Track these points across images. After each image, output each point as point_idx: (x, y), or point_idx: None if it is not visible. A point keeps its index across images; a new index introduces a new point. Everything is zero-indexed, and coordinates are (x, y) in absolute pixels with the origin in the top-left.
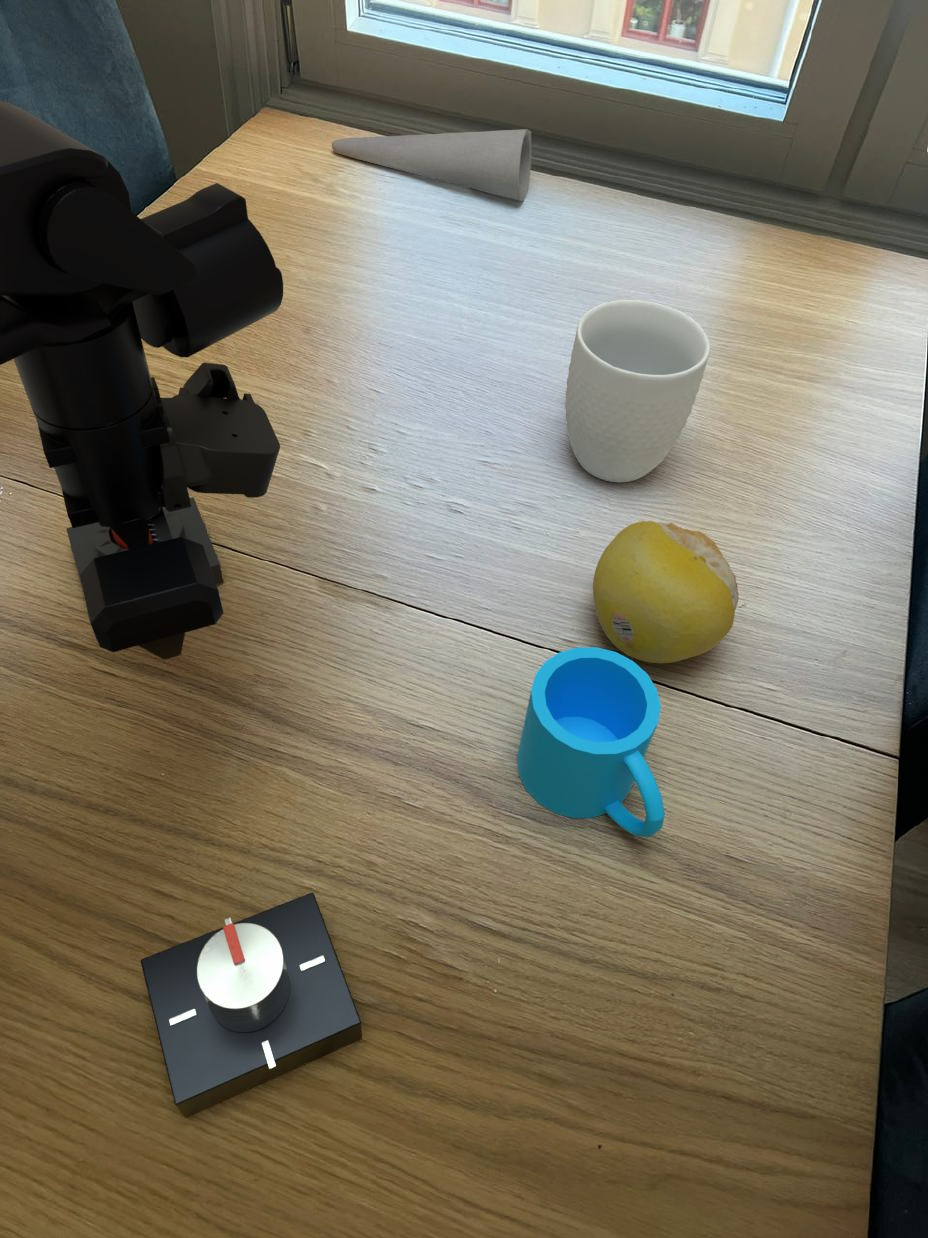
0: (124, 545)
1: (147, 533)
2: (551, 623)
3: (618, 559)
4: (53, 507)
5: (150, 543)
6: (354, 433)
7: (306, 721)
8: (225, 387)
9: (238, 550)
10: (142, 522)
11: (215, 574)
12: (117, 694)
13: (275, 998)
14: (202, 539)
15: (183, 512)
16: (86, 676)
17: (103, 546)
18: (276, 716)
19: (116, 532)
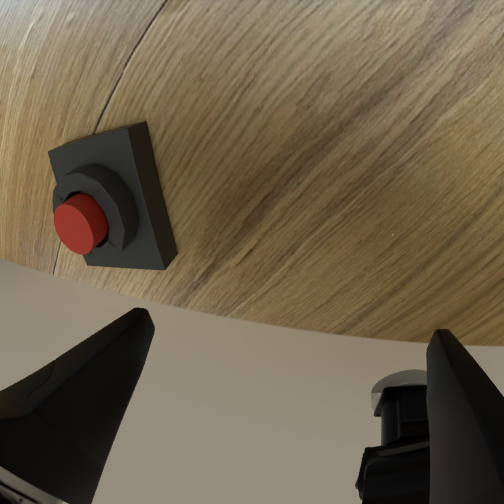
0: (104, 236)
1: (126, 333)
2: None
3: None
4: (68, 256)
5: (100, 210)
6: (11, 7)
7: (389, 68)
8: None
9: (106, 102)
10: (110, 357)
11: (137, 131)
12: (277, 251)
13: None
14: (93, 145)
15: (63, 163)
16: (246, 271)
17: (107, 255)
18: (370, 99)
19: (135, 381)
